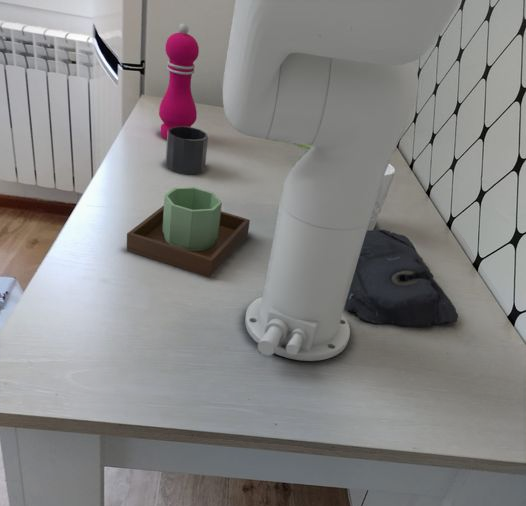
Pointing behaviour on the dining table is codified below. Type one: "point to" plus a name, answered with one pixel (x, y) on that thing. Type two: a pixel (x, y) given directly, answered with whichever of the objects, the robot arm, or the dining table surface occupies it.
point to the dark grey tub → (186, 150)
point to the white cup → (381, 196)
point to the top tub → (191, 218)
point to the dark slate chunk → (396, 284)
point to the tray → (201, 262)
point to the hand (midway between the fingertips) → (310, 18)
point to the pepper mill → (179, 82)
